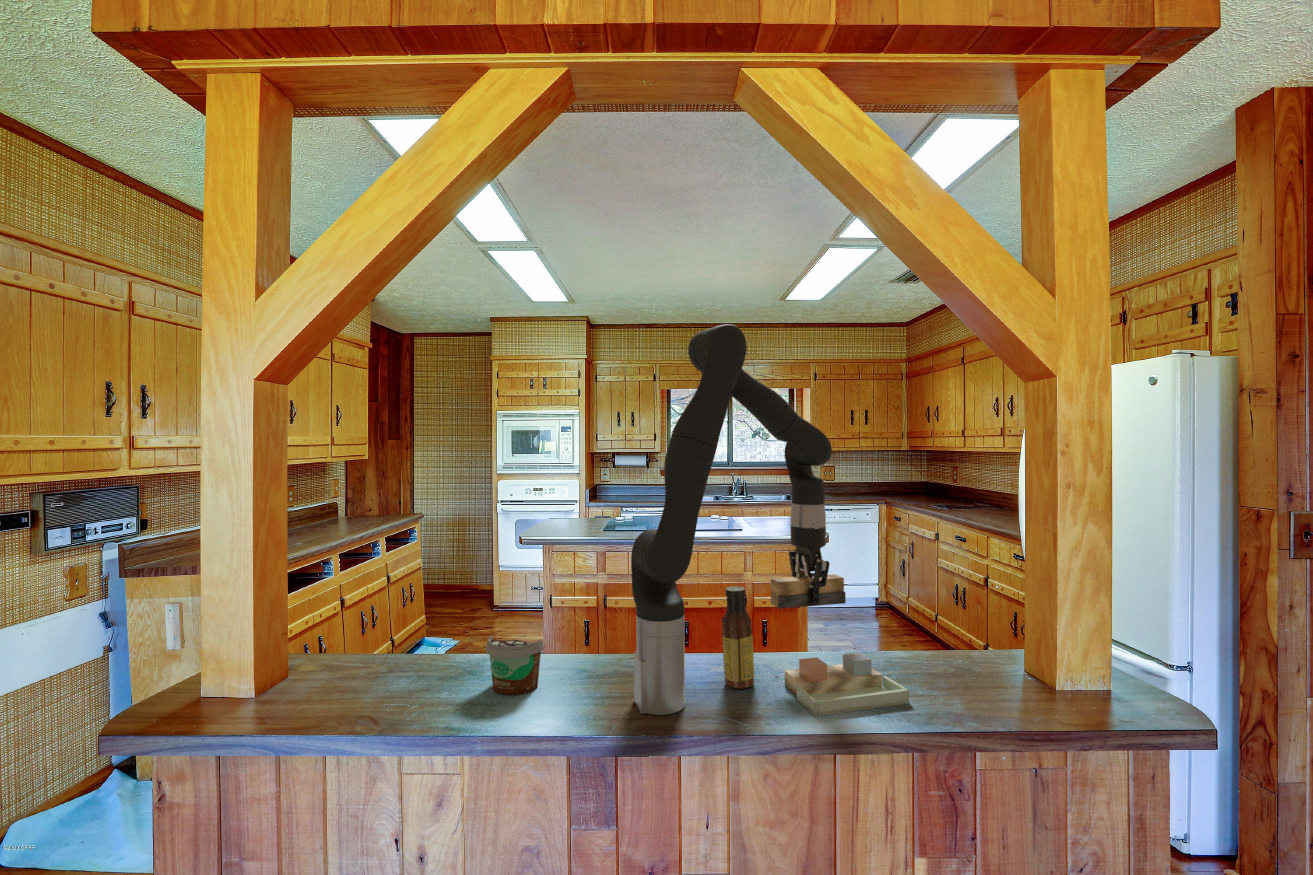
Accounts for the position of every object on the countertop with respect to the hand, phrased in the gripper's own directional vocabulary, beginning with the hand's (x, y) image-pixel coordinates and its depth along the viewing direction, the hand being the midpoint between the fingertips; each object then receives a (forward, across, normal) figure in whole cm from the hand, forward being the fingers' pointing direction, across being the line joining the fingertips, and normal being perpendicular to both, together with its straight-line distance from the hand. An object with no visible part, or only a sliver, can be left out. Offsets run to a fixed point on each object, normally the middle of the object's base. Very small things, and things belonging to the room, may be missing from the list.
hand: (808, 601), depth 128 cm
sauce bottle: (+15, +3, -18) cm, 24 cm away
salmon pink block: (+12, +10, -5) cm, 17 cm away
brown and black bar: (0, 0, 0) cm, 1 cm away
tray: (+15, +16, 0) cm, 22 cm away
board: (+15, +9, 0) cm, 18 cm away
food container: (+16, -7, -64) cm, 66 cm away
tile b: (+12, +10, +5) cm, 17 cm away
